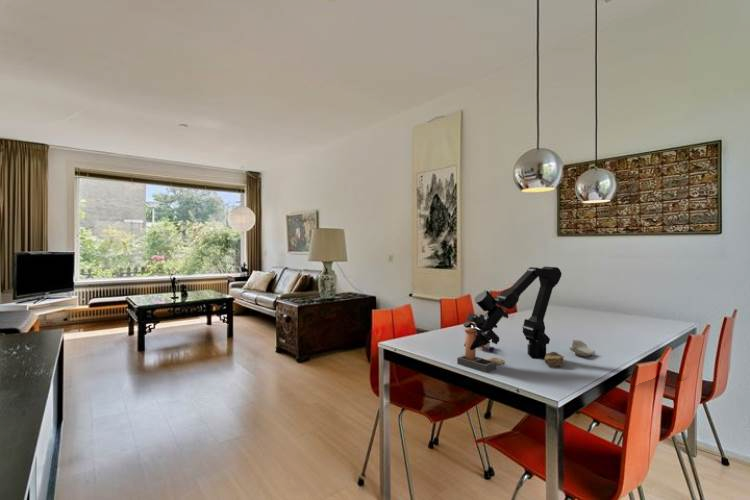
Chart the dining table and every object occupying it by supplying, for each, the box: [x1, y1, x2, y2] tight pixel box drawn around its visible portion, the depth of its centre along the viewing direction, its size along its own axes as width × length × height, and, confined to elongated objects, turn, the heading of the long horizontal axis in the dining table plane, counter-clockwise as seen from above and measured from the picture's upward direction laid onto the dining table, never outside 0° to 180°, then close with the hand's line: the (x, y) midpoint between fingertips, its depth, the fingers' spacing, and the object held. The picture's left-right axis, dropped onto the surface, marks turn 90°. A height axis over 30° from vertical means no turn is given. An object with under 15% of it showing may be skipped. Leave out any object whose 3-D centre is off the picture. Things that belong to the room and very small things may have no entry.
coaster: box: [484, 357, 505, 366], centre depth 150 cm, size 8×8×1 cm
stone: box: [543, 351, 565, 368], centre depth 147 cm, size 14×7×5 cm, turn 164°
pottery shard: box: [568, 339, 596, 357], centre depth 158 cm, size 10×11×5 cm
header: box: [456, 354, 497, 373], centre depth 144 cm, size 7×13×2 cm, turn 39°
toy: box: [477, 343, 496, 352], centre depth 168 cm, size 12×7×14 cm
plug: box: [464, 327, 477, 361], centre depth 147 cm, size 5×5×14 cm
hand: (467, 347), depth 146 cm, fingers closed on plug, 4 cm apart
